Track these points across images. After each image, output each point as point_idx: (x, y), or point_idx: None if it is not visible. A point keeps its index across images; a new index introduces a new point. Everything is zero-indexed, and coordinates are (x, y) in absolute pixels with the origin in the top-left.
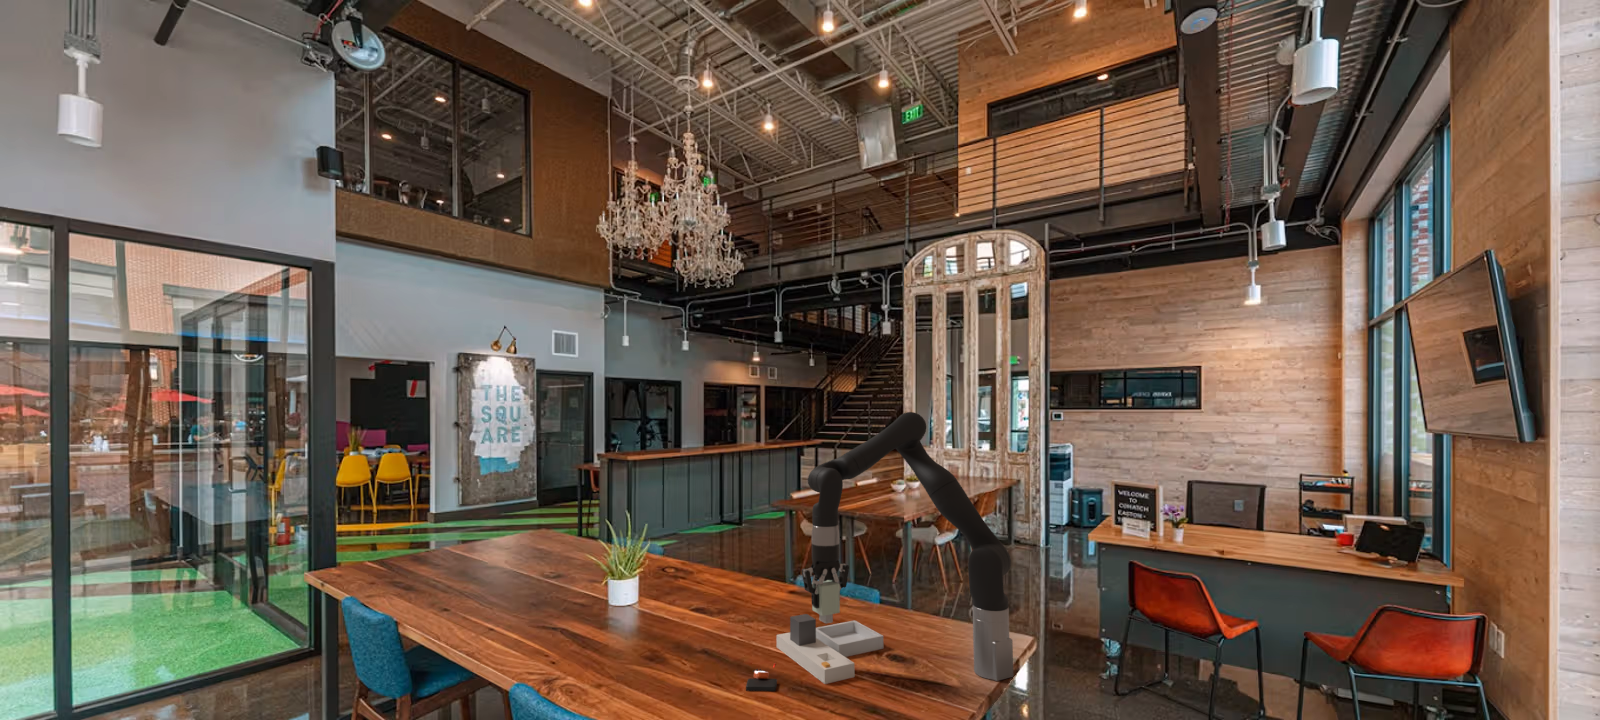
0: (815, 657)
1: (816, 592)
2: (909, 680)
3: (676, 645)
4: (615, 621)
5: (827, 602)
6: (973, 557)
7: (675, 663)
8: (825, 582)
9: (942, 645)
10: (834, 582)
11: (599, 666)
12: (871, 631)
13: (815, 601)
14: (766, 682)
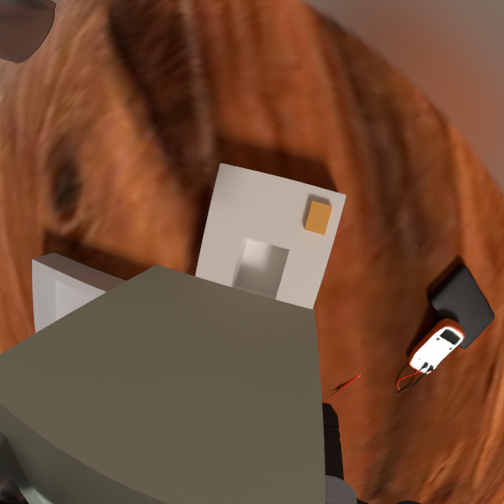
0: (290, 296)
1: (343, 493)
2: (140, 65)
3: None
4: None
5: (249, 344)
6: None
7: (446, 474)
8: None
9: None
10: (12, 456)
11: (490, 491)
12: (38, 302)
13: (324, 431)
14: (461, 302)
